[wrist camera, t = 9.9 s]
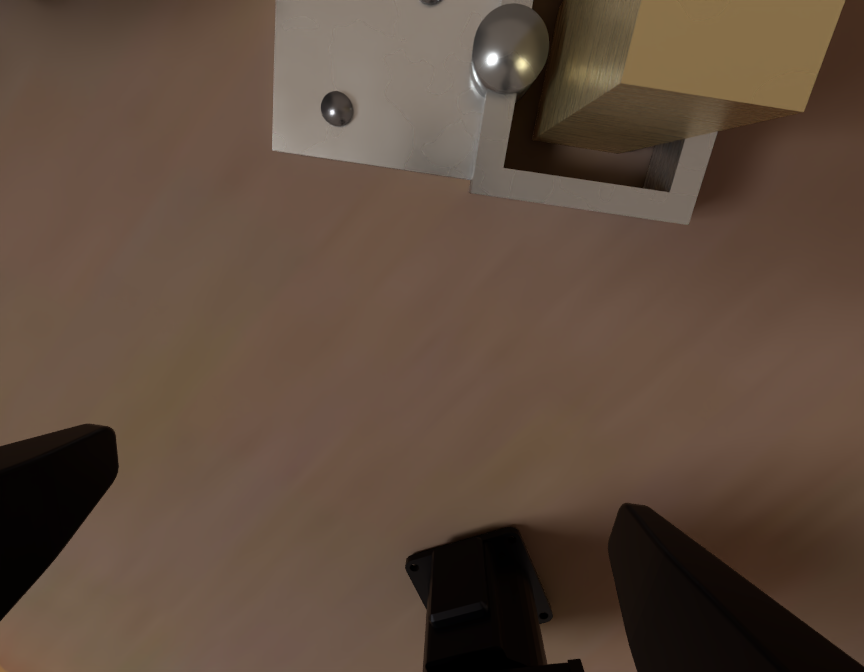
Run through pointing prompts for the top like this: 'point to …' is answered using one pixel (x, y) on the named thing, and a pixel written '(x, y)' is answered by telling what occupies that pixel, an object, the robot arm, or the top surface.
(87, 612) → the top surface
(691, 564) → the robot arm
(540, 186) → the hinge base
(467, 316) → the top surface
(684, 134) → the tan rectangular pillar
